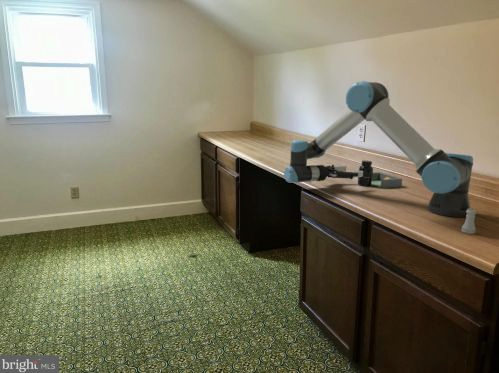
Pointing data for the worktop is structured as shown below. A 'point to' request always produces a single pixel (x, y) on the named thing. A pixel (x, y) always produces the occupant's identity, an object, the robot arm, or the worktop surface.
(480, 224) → the worktop surface
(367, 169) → the supplement bottle
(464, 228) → the rook chess piece
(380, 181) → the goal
